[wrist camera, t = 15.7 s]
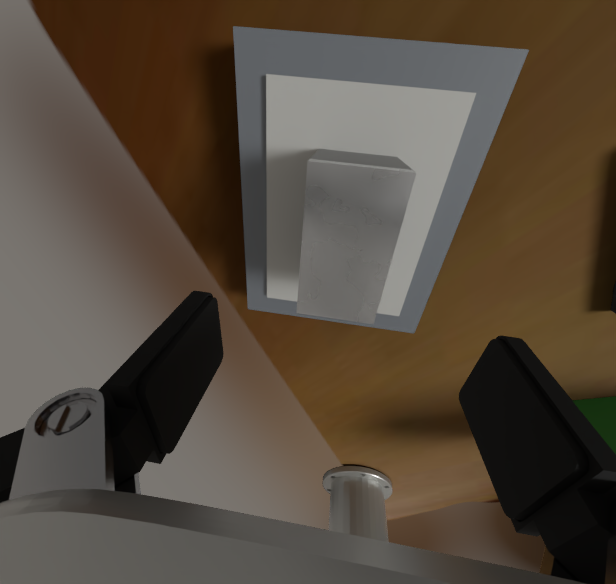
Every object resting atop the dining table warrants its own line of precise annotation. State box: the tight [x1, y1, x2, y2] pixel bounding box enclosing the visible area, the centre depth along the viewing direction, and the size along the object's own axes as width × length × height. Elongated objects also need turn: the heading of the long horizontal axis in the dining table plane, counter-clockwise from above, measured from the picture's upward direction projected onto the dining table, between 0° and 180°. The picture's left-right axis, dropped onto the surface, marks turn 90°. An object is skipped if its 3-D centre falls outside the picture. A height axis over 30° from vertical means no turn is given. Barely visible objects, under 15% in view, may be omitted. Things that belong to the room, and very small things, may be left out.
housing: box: [296, 149, 416, 324], centre depth 17 cm, size 5×9×6 cm, turn 175°
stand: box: [233, 26, 529, 333], centre depth 21 cm, size 20×16×4 cm
